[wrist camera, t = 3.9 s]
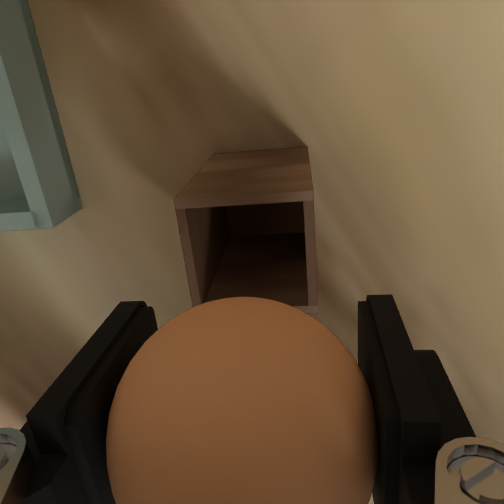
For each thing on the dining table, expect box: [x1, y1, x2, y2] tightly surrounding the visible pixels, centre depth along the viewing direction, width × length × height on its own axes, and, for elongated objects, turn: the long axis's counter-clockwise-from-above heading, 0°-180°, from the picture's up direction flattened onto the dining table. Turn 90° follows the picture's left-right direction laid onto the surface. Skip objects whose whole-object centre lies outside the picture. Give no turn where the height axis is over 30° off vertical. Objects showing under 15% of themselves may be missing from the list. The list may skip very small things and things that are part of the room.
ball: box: [106, 297, 378, 504], centre depth 8 cm, size 5×5×5 cm
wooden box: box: [174, 147, 318, 314], centre depth 17 cm, size 4×4×7 cm
